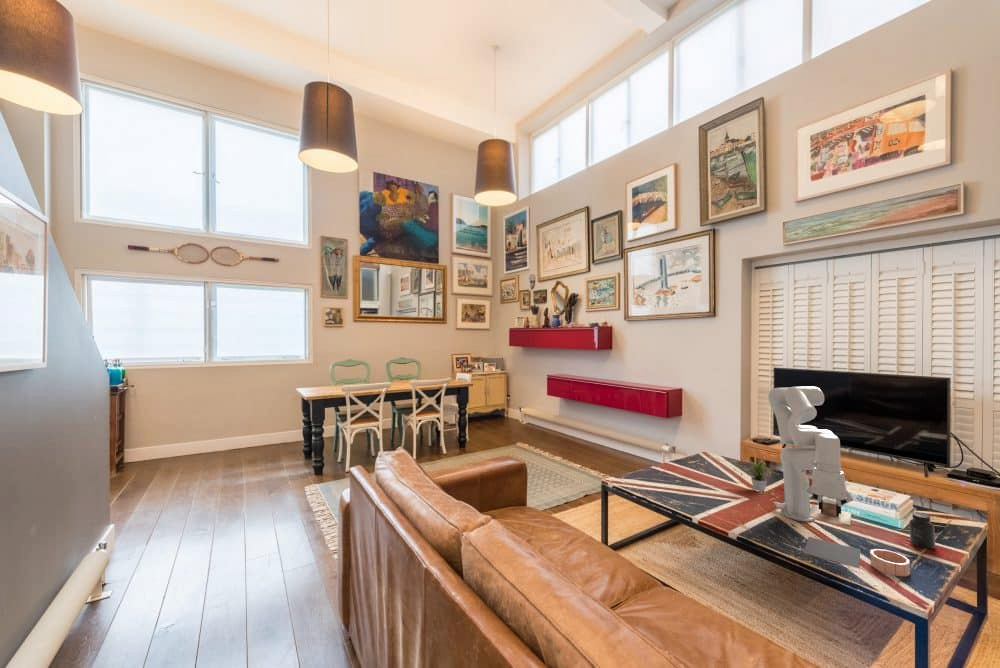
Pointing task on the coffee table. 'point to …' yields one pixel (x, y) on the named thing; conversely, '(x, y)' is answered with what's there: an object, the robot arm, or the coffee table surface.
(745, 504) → the coffee table surface
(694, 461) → the coffee table surface
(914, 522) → the supplement bottle
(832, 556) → the mat
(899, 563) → the bowl
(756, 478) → the house plant
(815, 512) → the lid
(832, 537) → the coffee table surface
